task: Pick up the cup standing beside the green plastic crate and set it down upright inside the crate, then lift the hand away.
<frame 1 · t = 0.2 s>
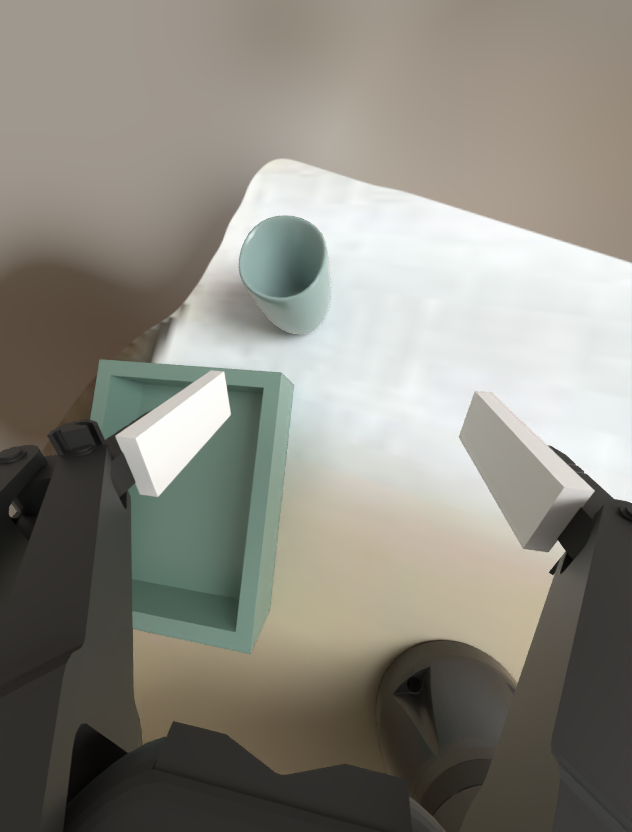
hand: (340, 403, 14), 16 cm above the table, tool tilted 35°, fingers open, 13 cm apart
cup: (302, 313, 32), on the table
crate: (202, 483, 32), on the table
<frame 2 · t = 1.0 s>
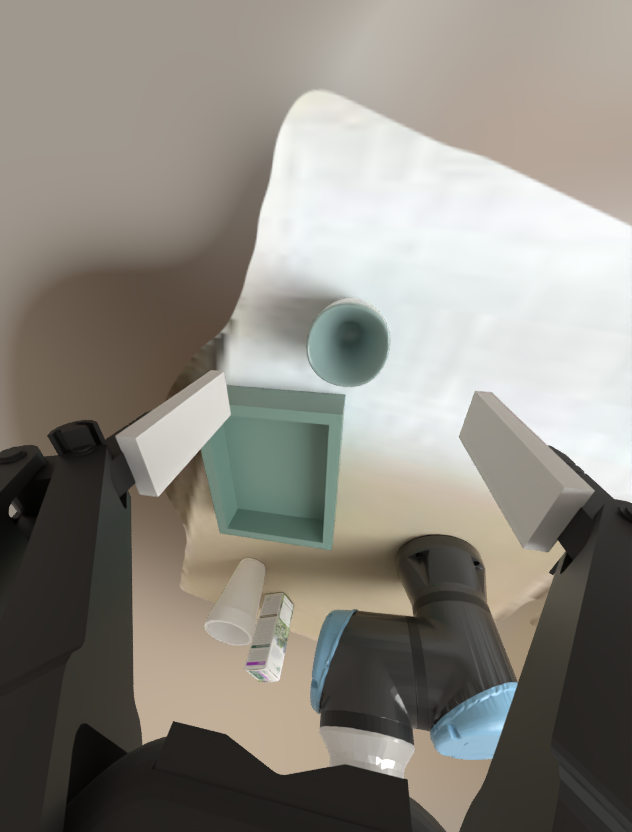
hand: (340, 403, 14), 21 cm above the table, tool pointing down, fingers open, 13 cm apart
cup: (350, 328, 33), on the table
crate: (280, 460, 45), on the table
foam cup: (253, 565, 61), on the table
syrup box: (280, 598, 66), on the table
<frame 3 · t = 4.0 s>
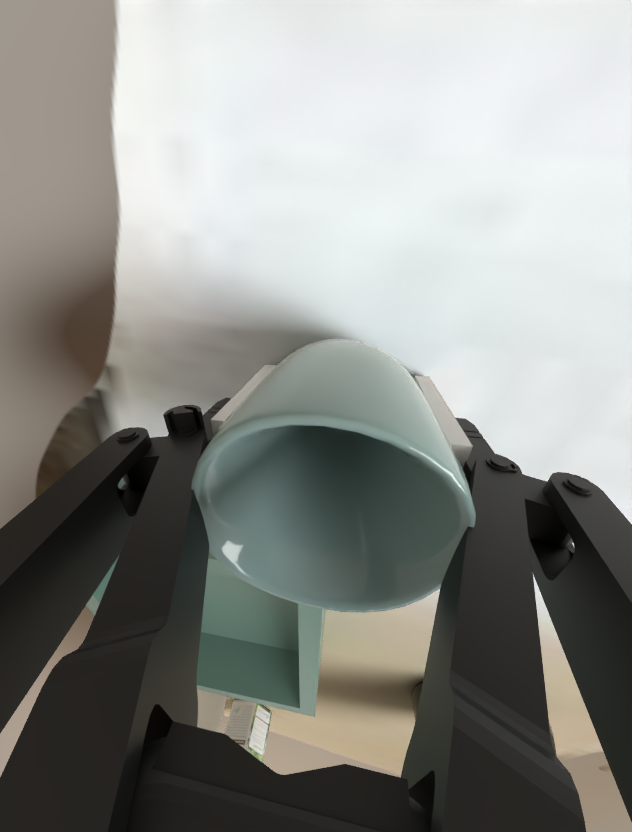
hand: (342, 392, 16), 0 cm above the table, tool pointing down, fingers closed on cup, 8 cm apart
cup: (343, 389, 16), on the table, touching gripper
crate: (232, 574, 28), on the table
foam cup: (213, 672, 45), on the table
syrup box: (253, 704, 50), on the table
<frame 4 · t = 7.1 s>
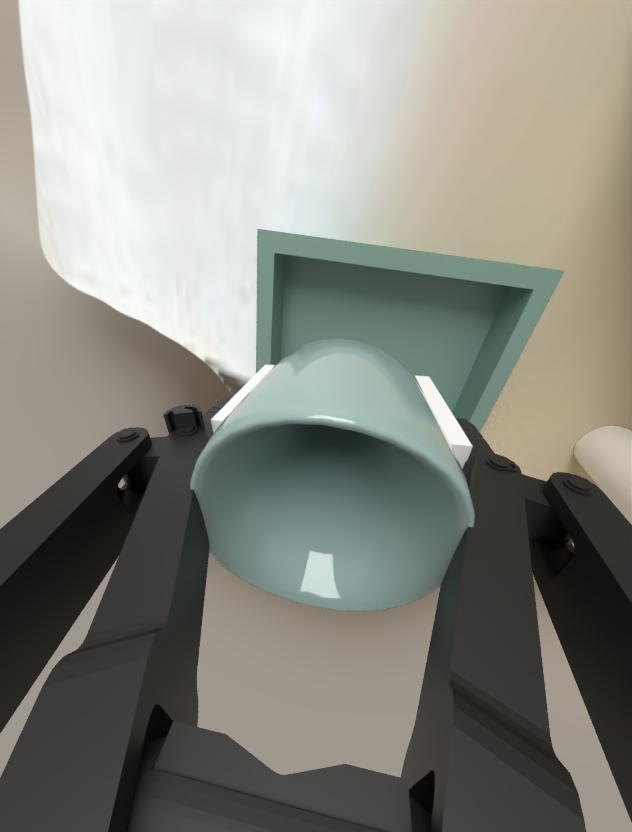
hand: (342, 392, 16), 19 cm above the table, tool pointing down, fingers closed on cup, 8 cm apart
cup: (342, 388, 16), point 18 cm above the table, touching gripper
crate: (374, 347, 33), on the table
foam cup: (601, 445, 35), on the table
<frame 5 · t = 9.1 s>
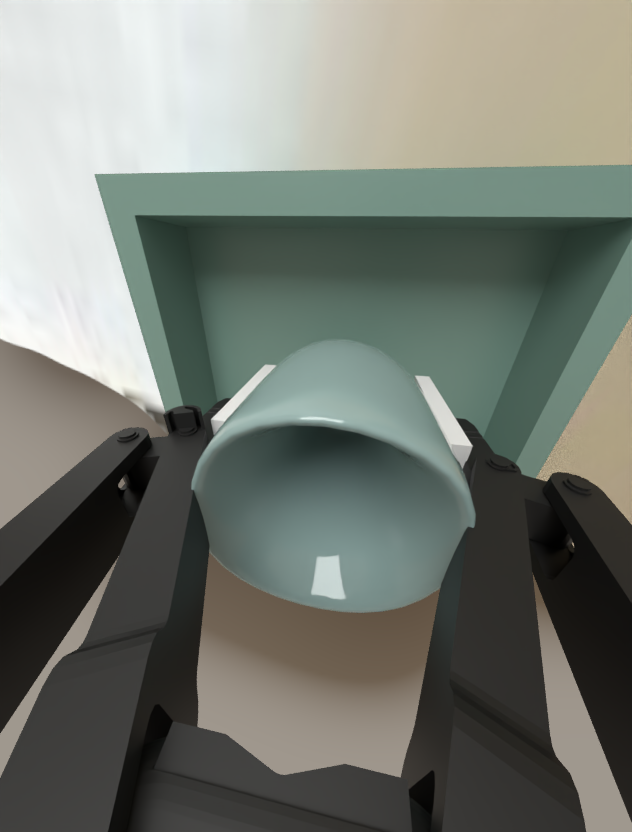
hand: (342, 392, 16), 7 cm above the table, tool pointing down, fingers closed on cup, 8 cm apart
cup: (343, 389, 16), point 6 cm above the table, touching gripper
crate: (349, 356, 21), on the table
when the fingers open (4 cm above the table, at t = 10.6 s): cup drops 2 cm, resting on crate.
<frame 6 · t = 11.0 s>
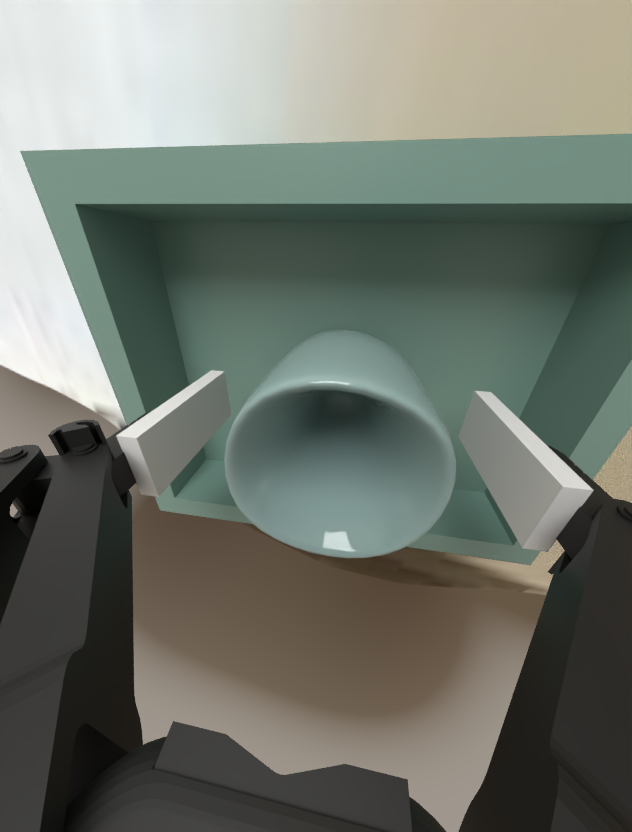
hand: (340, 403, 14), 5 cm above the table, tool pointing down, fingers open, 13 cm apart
cup: (345, 377, 18), point 1 cm above the table, touching crate
crate: (345, 371, 19), on the table
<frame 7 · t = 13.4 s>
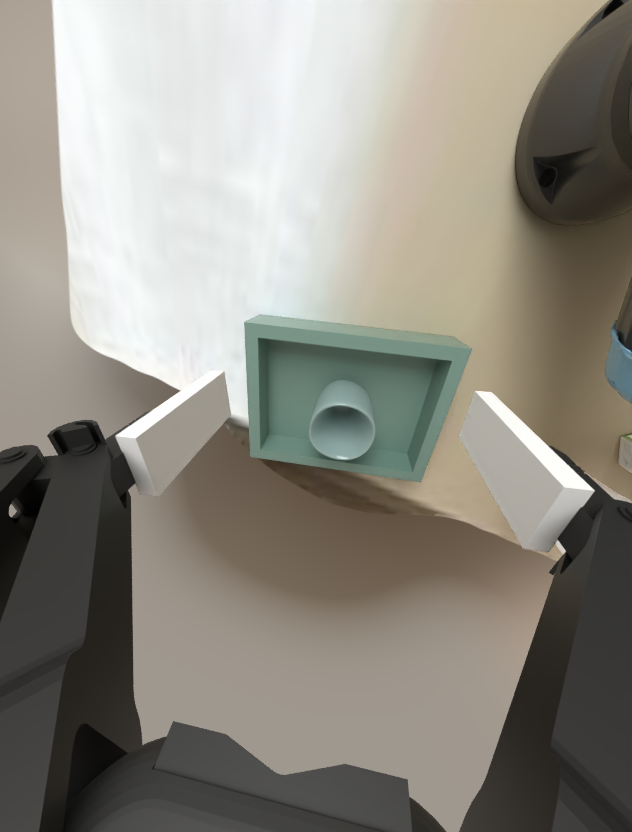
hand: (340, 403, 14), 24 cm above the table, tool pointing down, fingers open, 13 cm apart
cup: (344, 396, 39), point 1 cm above the table, touching crate
crate: (344, 393, 40), on the table
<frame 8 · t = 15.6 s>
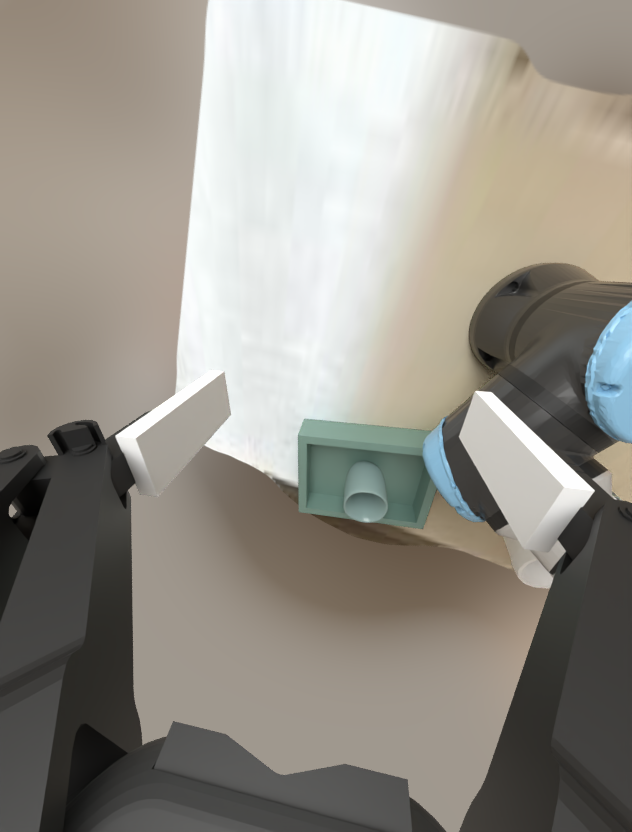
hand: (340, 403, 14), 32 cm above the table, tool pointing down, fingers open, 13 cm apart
cup: (364, 469, 55), point 1 cm above the table, touching crate
crate: (364, 465, 56), on the table
foam cup: (511, 510, 56), on the table
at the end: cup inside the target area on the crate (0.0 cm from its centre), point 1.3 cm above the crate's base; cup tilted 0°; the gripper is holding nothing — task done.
